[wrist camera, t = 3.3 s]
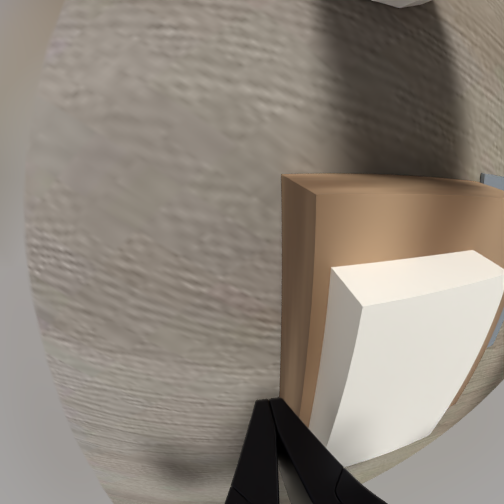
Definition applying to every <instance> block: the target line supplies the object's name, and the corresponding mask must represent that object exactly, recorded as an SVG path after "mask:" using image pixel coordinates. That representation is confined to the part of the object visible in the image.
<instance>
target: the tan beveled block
mask: <svg viewBox="0 0 504 504" xmlns="http://www.w3.org/2000/svg"><path fill="white" fill-rule="evenodd" d="M281 185H282V325H281V366H280V395H279V397H281V398H283V399H284V401H285V402H286V403H287V404H288V405H289V407H290V408H291V409H292V410H293V411H294V412H295V414H296V415H297V416H298V417H299V418H300V419H301V420H302V422H303V423H304V424H305V425H306V426H307V427H308V428H309V423H310V418H311V413H312V408H313V403H314V397H315V391H316V385H317V379H318V373H319V367H320V360H321V353H322V346H323V339H324V331H325V323H326V314H327V305H328V296H329V285H330V274H331V267H339V266H348V265H357V264H366V263H375V262H383V261H392V260H400V259H408V258H416V257H424V256H432V255H439V254H447V253H454V252H462V251H469V250H474V251H476V252H477V253H479V254H481V255H482V256H484V257H486V258H487V259H489V260H490V261H492V262H494V263H495V264H497V265H498V266H500V267H501V268H503V269H504V191H503V190H500V189H498V188H495V187H492V186H489V185H486V184H482V183H479V182H476V181H468V180H459V179H448V178H436V177H423V176H407V175H386V174H340V173H324V174H281ZM503 308H504V292H503V295H502V298H501V301H500V304H499V306H498V309H497V312H496V314H495V317H494V319H493V322H492V324H491V327H490V329H489V332H488V334H487V336H486V338H485V341H484V343H483V345H482V347H481V349H480V351H479V353H478V355H477V358H476V360H475V361H474V363H473V365H472V367H471V369H470V371H469V373H468V375H467V377H466V378H465V380H464V382H463V384H462V386H461V387H460V389H459V391H458V392H457V394H456V396H455V397H454V399H453V401H452V402H451V404H450V405H449V407H450V406H452V405H454V404H455V403H456V402H457V400H458V399H459V397H460V395H461V394H462V392H463V391H464V389H465V387H466V385H467V384H468V382H469V380H470V379H471V377H472V375H473V373H474V371H475V369H476V368H477V366H478V364H479V362H480V360H481V358H482V356H483V354H484V352H485V350H486V348H487V346H488V343H489V341H490V339H491V337H492V335H493V332H494V330H495V328H496V325H497V323H498V320H499V318H500V316H501V313H502V310H503Z"/></svg>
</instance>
